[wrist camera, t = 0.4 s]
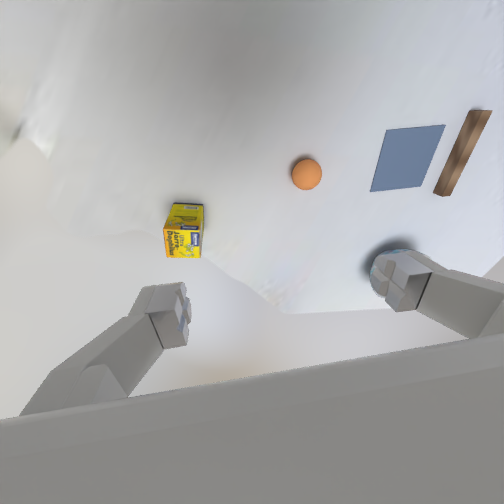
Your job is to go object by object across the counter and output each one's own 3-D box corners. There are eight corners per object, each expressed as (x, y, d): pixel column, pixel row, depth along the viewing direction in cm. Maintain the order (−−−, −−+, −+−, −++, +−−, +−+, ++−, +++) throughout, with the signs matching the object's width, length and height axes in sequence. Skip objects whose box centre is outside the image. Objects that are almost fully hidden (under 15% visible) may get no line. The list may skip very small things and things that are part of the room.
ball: (289, 157, 41) (298, 164, 37) (316, 155, 42) (328, 161, 37) (288, 186, 44) (296, 195, 40) (313, 183, 45) (324, 192, 40)
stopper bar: (469, 110, 41) (482, 111, 39) (479, 110, 41) (492, 110, 39) (432, 192, 50) (441, 196, 48) (440, 191, 50) (450, 195, 48)
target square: (386, 130, 41) (387, 130, 40) (444, 124, 41) (445, 124, 41) (369, 191, 48) (370, 191, 47) (420, 186, 48) (420, 186, 48)
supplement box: (173, 202, 43) (161, 228, 34) (203, 203, 44) (200, 229, 35) (175, 228, 47) (166, 258, 38) (204, 229, 48) (201, 258, 39)
